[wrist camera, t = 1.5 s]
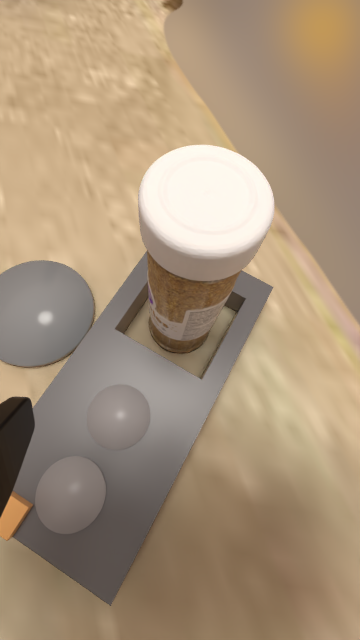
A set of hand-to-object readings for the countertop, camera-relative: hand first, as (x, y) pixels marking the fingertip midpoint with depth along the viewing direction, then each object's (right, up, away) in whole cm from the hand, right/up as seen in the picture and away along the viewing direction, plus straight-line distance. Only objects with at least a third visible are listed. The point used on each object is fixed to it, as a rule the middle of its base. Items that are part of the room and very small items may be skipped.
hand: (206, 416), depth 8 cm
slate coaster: (-11, +3, +14) cm, 18 cm away
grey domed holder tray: (-3, -2, +13) cm, 13 cm away
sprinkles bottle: (-1, +2, +14) cm, 15 cm away
